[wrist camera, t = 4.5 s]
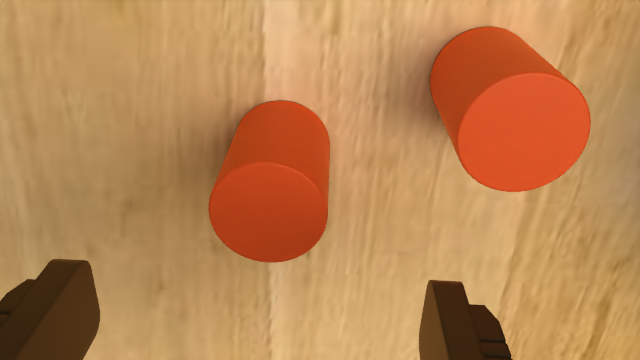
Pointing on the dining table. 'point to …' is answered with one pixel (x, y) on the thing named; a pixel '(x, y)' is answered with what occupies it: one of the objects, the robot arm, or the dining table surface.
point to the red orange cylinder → (273, 184)
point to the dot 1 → (508, 110)
